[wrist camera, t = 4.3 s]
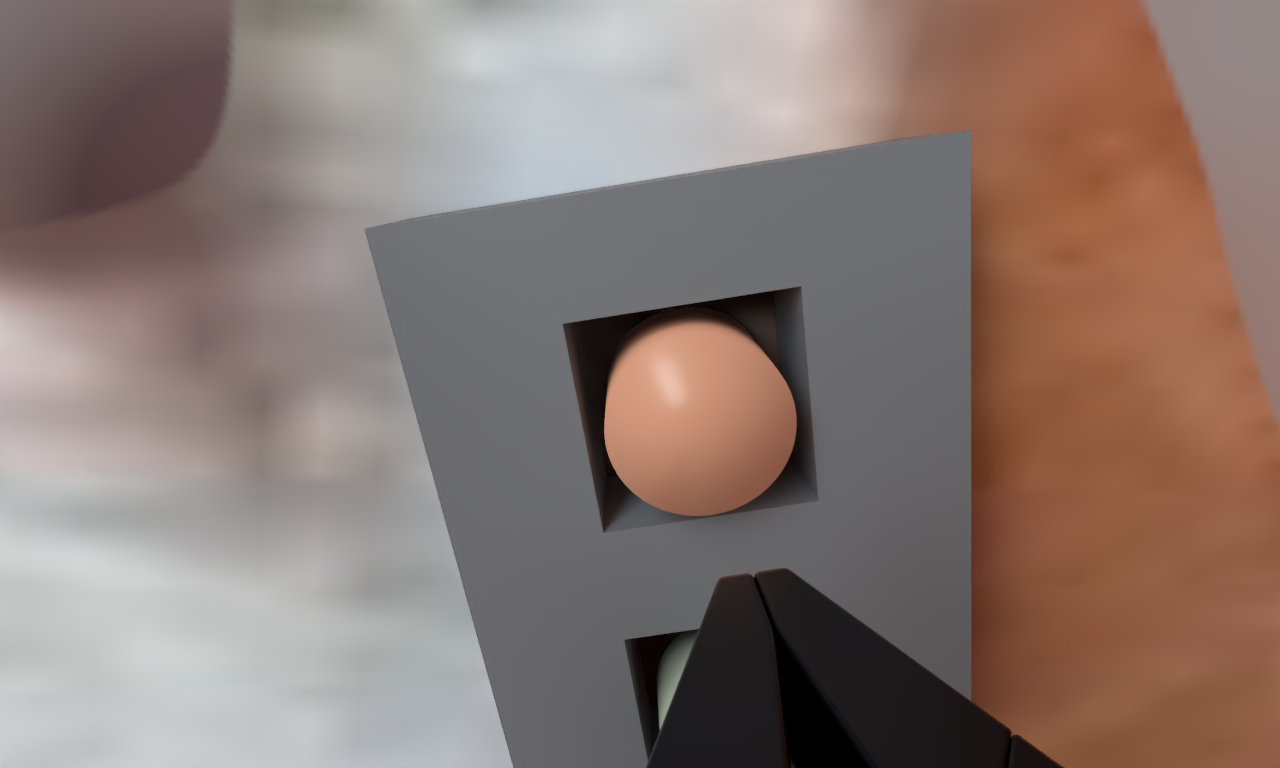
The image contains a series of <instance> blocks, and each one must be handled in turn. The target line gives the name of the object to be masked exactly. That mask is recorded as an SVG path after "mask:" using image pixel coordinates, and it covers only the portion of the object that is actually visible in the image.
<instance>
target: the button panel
mask: <svg viewBox="0 0 1280 768" xmlns="http://www.w3.org/2000/svg"><path fill="white" fill-rule="evenodd" d="M365 232H366V236H367V239H368V243H369V247H370V250H371V254H372V257H373V261H374V265H375V268H376V272H377V276H378V279H379V283H380V286H381V290H382V294H383V297H384V301H385V304H386V308H387V312H388V315H389V319H390V323H391V326H392V330H393V333H394V337H395V341H396V344H397V348H398V351H399V355H400V359H401V362H402V366H403V370H404V373H405V377H406V380H407V384H408V388H409V391H410V395H411V398H412V402H413V406H414V409H415V413H416V417H417V420H418V424H419V427H420V431H421V435H422V438H423V442H424V445H425V449H426V453H427V456H428V460H429V464H430V467H431V471H432V474H433V478H434V482H435V485H436V489H437V492H438V496H439V500H440V503H441V507H442V511H443V514H444V518H445V521H446V525H447V529H448V532H449V536H450V540H451V543H452V547H453V550H454V554H455V558H456V561H457V565H458V568H459V572H460V576H461V579H462V583H463V587H464V590H465V594H466V597H467V601H468V605H469V608H470V612H471V615H472V619H473V623H474V626H475V630H476V634H477V637H478V641H479V644H480V648H481V652H482V655H483V659H484V662H485V666H486V670H487V673H488V677H489V681H490V684H491V688H492V691H493V695H494V699H495V702H496V706H497V709H498V713H499V717H500V720H501V724H502V728H503V731H504V735H505V738H506V742H507V746H508V749H509V753H510V756H511V760H512V764H513V767H514V768H646V766H647V763H648V760H649V758H650V755H651V753H652V750H653V747H654V745H655V742H656V740H657V737H658V734H659V732H660V728H659V713H658V706H656V707H650V705H649V699H648V694H647V689H646V683H645V678H644V673H643V667H642V662H641V657H640V651H639V646H638V641H637V638H640V637H647V636H654V635H661V634H668V633H674V632H681V631H688V630H695V629H699V628H700V625H701V623H702V620H703V617H704V615H705V612H706V610H707V607H708V604H709V602H710V599H711V597H712V594H713V591H714V589H715V586H716V584H717V581H718V580H719V578H721V577H724V576H731V575H738V574H745V573H749V574H751V575H752V576H753V577H754V575H755V573H757V572H759V571H765V570H772V569H778V568H787V569H789V570H791V571H792V572H794V573H795V574H796V575H798V576H799V577H801V578H802V579H803V580H805V581H806V582H807V583H809V584H810V585H812V586H813V587H814V588H816V589H817V590H818V591H820V592H821V593H823V594H824V595H825V596H827V597H828V598H830V599H831V600H832V601H834V602H835V603H836V604H838V605H839V606H841V607H842V608H843V609H845V610H846V611H847V612H849V613H850V614H852V615H853V616H854V617H856V618H857V619H859V620H860V621H861V622H863V623H864V624H865V625H867V626H868V627H870V628H871V629H872V630H874V631H875V632H876V633H878V634H879V635H881V636H882V637H883V638H885V639H886V640H888V641H889V642H890V643H892V644H893V645H894V646H896V647H897V648H899V649H900V650H901V651H903V652H904V653H905V654H907V655H908V656H910V657H911V658H912V659H914V660H915V661H917V662H918V663H919V664H921V665H922V666H923V667H925V668H926V669H928V670H929V671H930V672H932V673H933V674H934V675H936V676H937V677H939V678H940V679H941V680H943V681H944V682H946V683H947V684H948V685H950V686H951V687H952V688H954V689H955V690H957V691H958V692H959V693H961V694H962V695H963V696H965V697H966V698H968V699H969V700H970V701H972V604H971V131H964V132H955V133H946V134H937V135H928V136H919V137H910V138H903V139H897V140H891V141H885V142H879V143H873V144H867V145H860V146H854V147H848V148H842V149H836V150H830V151H823V152H817V153H811V154H805V155H799V156H793V157H786V158H780V159H774V160H768V161H762V162H756V163H750V164H743V165H737V166H731V167H725V168H719V169H713V170H706V171H700V172H694V173H688V174H682V175H676V176H670V177H663V178H657V179H651V180H645V181H639V182H633V183H626V184H620V185H614V186H608V187H602V188H596V189H590V190H583V191H577V192H571V193H565V194H559V195H553V196H546V197H540V198H534V199H528V200H522V201H516V202H510V203H503V204H497V205H491V206H485V207H479V208H473V209H466V210H460V211H454V212H448V213H442V214H436V215H429V216H423V217H417V218H411V219H407V220H402V221H398V222H394V223H389V224H385V225H380V226H376V227H372V228H367V229H365ZM768 291H773V295H774V305H775V316H776V327H777V337H778V348H779V359H780V369H781V375H782V377H783V378H784V380H785V381H786V383H787V385H788V387H789V389H790V391H791V394H792V397H793V400H794V403H795V409H796V416H797V429H796V437H795V442H794V446H793V449H792V452H791V455H790V457H789V459H788V462H787V463H786V465H785V467H784V469H783V470H782V472H781V473H780V475H779V476H778V477H777V479H776V480H775V481H774V482H773V483H772V484H771V485H770V486H769V487H768V488H767V489H766V490H765V491H764V492H763V493H761V494H760V495H759V496H758V497H756V498H755V499H753V500H751V501H750V502H748V503H747V504H744V505H742V506H740V507H738V508H736V509H733V510H730V511H727V512H724V513H719V514H714V515H706V516H687V515H680V514H674V513H671V512H667V511H664V510H661V509H659V508H656V507H654V506H652V505H650V504H649V503H647V502H645V501H643V500H642V499H641V498H639V497H638V496H637V495H635V494H634V493H633V492H632V491H631V490H630V489H629V488H628V487H627V486H626V485H625V484H624V483H623V481H622V480H621V479H620V478H619V476H618V475H611V476H606V470H605V465H604V460H603V454H602V449H601V444H600V438H599V433H598V428H597V422H596V417H595V412H594V406H593V401H592V396H591V390H590V385H589V380H588V374H587V369H586V364H585V359H584V353H583V348H582V343H581V337H580V332H579V327H578V321H584V320H590V319H596V318H603V317H609V316H615V315H622V314H628V313H634V312H641V311H647V310H653V309H660V308H666V307H673V306H679V305H685V304H692V303H698V302H704V301H711V300H717V299H723V298H730V297H736V296H742V295H749V294H755V293H761V292H768Z"/></svg>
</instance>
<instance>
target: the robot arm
mask: <svg viewBox="0 0 1280 768" xmlns="http://www.w3.org/2000/svg"><path fill="white" fill-rule="evenodd" d="M646 768H1064V767H1062V766H1061V765H1060V764H1058V763H1057V762H1055V761H1054V760H1052V759H1051V758H1050V757H1048V756H1047V755H1045V754H1044V753H1043V752H1041V751H1040V750H1039V749H1037V748H1036V747H1034V746H1033V745H1032V744H1030V743H1029V742H1027V741H1026V740H1025V739H1023V738H1022V737H1021V736H1019V735H1013V736H1012V732H1011V730H1010V729H1009V728H1008V727H1006V726H1005V725H1003V724H1002V723H1001V722H999V721H998V720H997V719H995V718H994V717H992V716H991V715H990V714H988V713H987V712H986V711H984V710H983V709H981V708H980V707H979V706H977V705H976V704H975V703H973V702H972V701H970V700H969V699H968V698H966V697H965V696H963V695H962V694H961V693H959V692H958V691H957V690H955V689H954V688H952V687H951V686H950V685H948V684H947V683H946V682H944V681H943V680H941V679H940V678H939V677H937V676H936V675H934V674H933V673H932V672H930V671H929V670H928V669H926V668H925V667H923V666H922V665H921V664H919V663H918V662H917V661H915V660H914V659H912V658H911V657H910V656H908V655H907V654H905V653H904V652H903V651H901V650H900V649H899V648H897V647H896V646H894V645H893V644H892V643H890V642H889V641H888V640H886V639H885V638H883V637H882V636H881V635H879V634H878V633H876V632H875V631H874V630H872V629H871V628H870V627H868V626H867V625H865V624H864V623H863V622H861V621H860V620H859V619H857V618H856V617H854V616H853V615H852V614H850V613H849V612H847V611H846V610H845V609H843V608H842V607H841V606H839V605H838V604H836V603H835V602H834V601H832V600H831V599H830V598H828V597H827V596H825V595H824V594H823V593H821V592H820V591H818V590H817V589H816V588H814V587H813V586H812V585H810V584H809V583H807V582H806V581H805V580H803V579H802V578H801V577H799V576H798V575H796V574H795V573H794V572H792V571H791V570H789V569H787V568H778V569H772V570H765V571H759V572H757V573H755V575H754V577H753V576H752V575H751V574H749V573H745V574H738V575H731V576H724V577H721V578H719V580H718V581H717V584H716V586H715V589H714V591H713V594H712V597H711V599H710V602H709V604H708V607H707V610H706V612H705V615H704V617H703V620H702V623H701V625H700V628H699V630H698V633H697V636H696V638H695V641H694V643H693V646H692V649H691V651H690V654H689V656H688V659H687V662H686V664H685V667H684V669H683V672H682V675H681V677H680V680H679V682H678V685H677V688H676V690H675V693H674V695H673V698H672V701H671V703H670V706H669V708H668V711H667V714H666V716H665V719H664V721H663V724H662V727H661V729H660V732H659V734H658V737H657V740H656V742H655V745H654V747H653V750H652V753H651V755H650V758H649V760H648V763H647V766H646Z"/></svg>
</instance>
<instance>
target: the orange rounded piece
mask: <svg viewBox="0 0 1280 768" xmlns="http://www.w3.org/2000/svg"><path fill="white" fill-rule="evenodd" d="M796 429H797V416H796V409H795V403H794V400H793V397H792V394H791V391H790V389H789V387H788V385H787V383H786V381H785V380H784V378H783V377H782V375H781V374H780V372H779V371H778V369H777V368H776V367H775V366H774V364H773V363H772V362H771V360H770V359H769V358H768V356H767V355H766V354H765V352H764V351H763V350H762V349H761V347H760V346H759V345H758V343H757V342H756V341H755V339H754V338H753V337H752V336H751V335H750V333H749V332H748V331H747V330H746V329H745V328H744V327H743V326H742V325H740V324H739V323H738V322H737V321H735V320H733V319H732V318H730V317H729V316H727V315H724V314H722V313H720V312H717V311H714V310H711V309H707V308H701V307H678V308H673V309H668V310H665V311H662V312H659V313H656V314H654V315H652V316H650V317H649V318H647V319H645V320H644V321H642V322H641V323H639V324H638V325H637V326H636V327H634V328H633V329H632V330H631V331H630V332H629V333H628V334H627V335H626V337H625V338H624V339H623V340H622V342H621V343H620V345H619V346H618V348H617V350H616V352H615V354H614V356H613V359H612V362H611V365H610V368H609V374H608V383H607V396H606V409H605V422H604V436H605V445H606V449H607V452H608V456H609V459H610V461H611V463H612V466H613V468H614V469H615V471H616V473H617V474H618V476H619V478H620V479H621V480H622V481H623V483H624V484H625V485H626V486H627V487H628V488H629V489H630V490H631V491H632V492H633V493H634V494H635V495H637V496H638V497H639V498H641V499H642V500H643V501H645V502H647V503H649V504H650V505H652V506H654V507H656V508H659V509H661V510H664V511H667V512H671V513H674V514H680V515H687V516H706V515H714V514H719V513H724V512H727V511H730V510H733V509H736V508H738V507H740V506H742V505H744V504H747V503H748V502H750V501H751V500H753V499H755V498H756V497H758V496H759V495H760V494H761V493H763V492H764V491H765V490H766V489H767V488H768V487H769V486H770V485H771V484H772V483H773V482H774V481H775V480H776V479H777V477H778V476H779V475H780V473H781V472H782V470H783V469H784V467H785V465H786V463H787V462H788V459H789V457H790V455H791V452H792V449H793V446H794V442H795V437H796Z"/></svg>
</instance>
